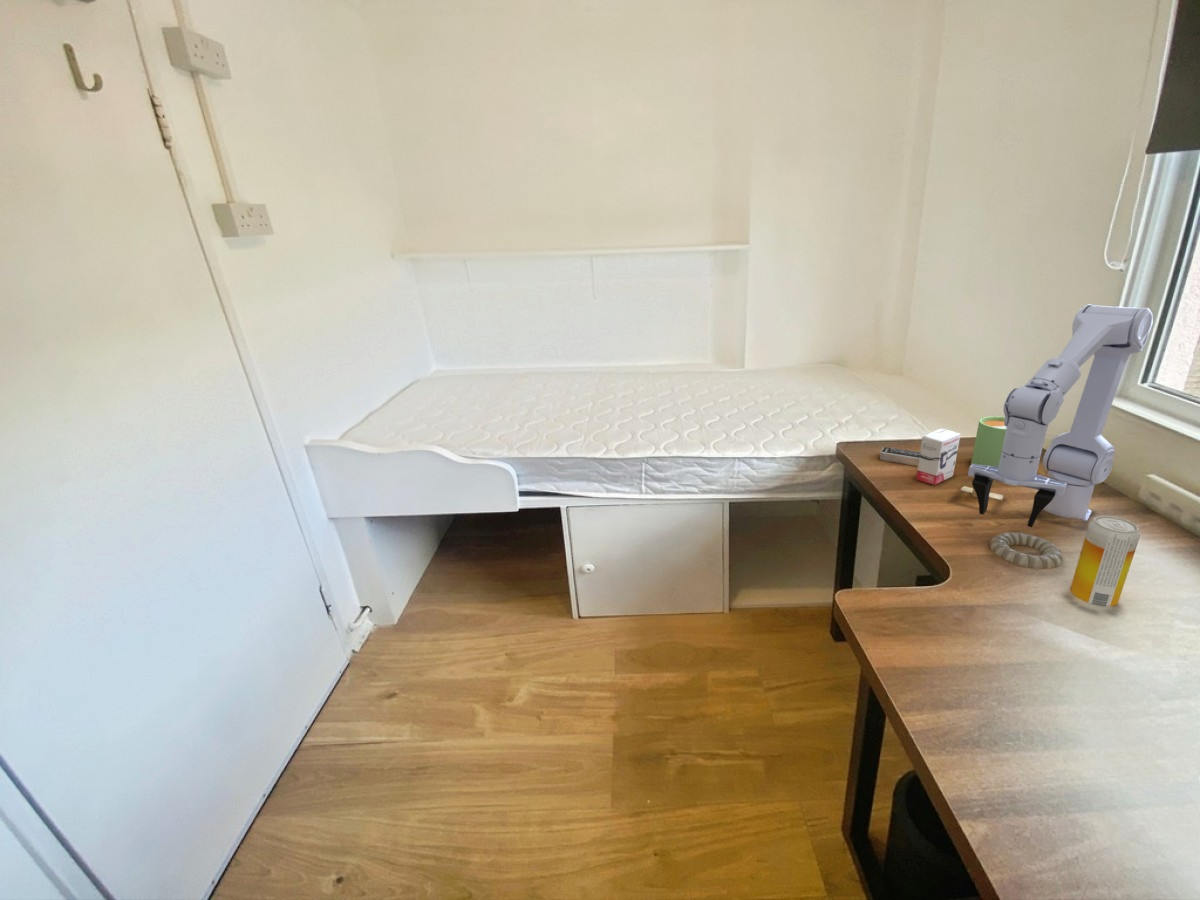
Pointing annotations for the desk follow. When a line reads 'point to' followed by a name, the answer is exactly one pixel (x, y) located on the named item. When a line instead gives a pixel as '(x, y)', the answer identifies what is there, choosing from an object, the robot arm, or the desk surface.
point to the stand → (972, 490)
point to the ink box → (937, 456)
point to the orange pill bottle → (1105, 560)
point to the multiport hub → (900, 456)
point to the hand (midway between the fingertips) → (1006, 518)
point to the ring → (1048, 560)
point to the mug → (989, 441)
